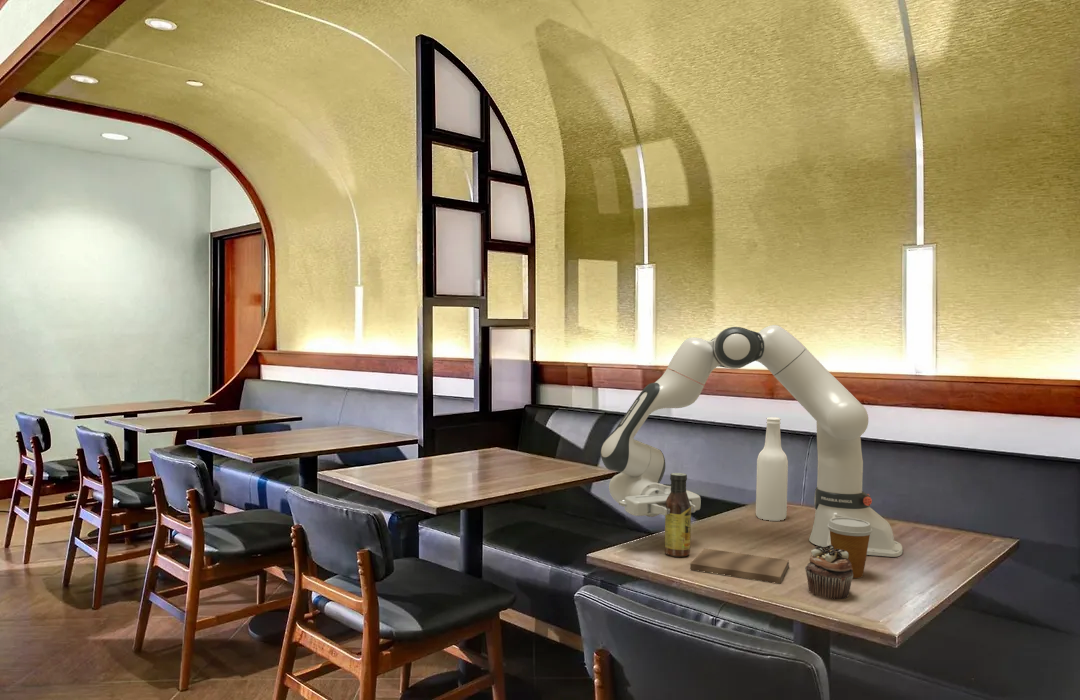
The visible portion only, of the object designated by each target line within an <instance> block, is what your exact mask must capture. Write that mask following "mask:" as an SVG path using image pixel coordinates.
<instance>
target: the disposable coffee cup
mask: <svg viewBox="0 0 1080 700" xmlns="http://www.w3.org/2000/svg"><path fill="white" fill-rule="evenodd" d="M828 528H829V530H830V539H831V545H832V546H834V550H835V549H841V550H843V549H844V551H847V552H848V554H849V555H848V559H849V561H850V562H851V565H852V570H853V578H852V579H859V578H863V576H864V571H865V567H866V560H867V556H868V555H867V548H868V542H869V536H870V534H871V532H872V529H871V526H870V523H869V522H866V521H864V520H860V519H854V518H842V517H840V518H832V519H830V522H829V524H828Z"/></svg>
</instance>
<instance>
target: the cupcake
mask: <svg viewBox="0 0 1080 700" xmlns="http://www.w3.org/2000/svg"><path fill="white" fill-rule="evenodd" d="M810 551H811V556H809V563H807V564H806V566H805V568H804V569H805V574H806V579H807V586H808V592H809V593H810V594H812V595H813V594H814V596H816V595H817V596H816V597H819V598H823V599H826V600H827V599H828V600H842V599H847V598H848V597H849V594H850V590H851V585H852V582H853V579H854V578H853V570H852V565H851V562H850V561H849V559H848V555H849V554H848V552H847V551H844V549H843V550H841V549H835V550H834V546H832V545H829V546H827V547H822V546H818V545H817V546H815V547H814V548H813V549H812V550H810Z"/></svg>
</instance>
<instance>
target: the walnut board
mask: <svg viewBox="0 0 1080 700" xmlns="http://www.w3.org/2000/svg"><path fill="white" fill-rule="evenodd" d="M789 566H790V560H789V559H783V558H776V557H769V556H762V555H756V554H755V555H754V554H746V553H741V552H734V551H726V550H717V549H711V548H703V550H701V552H700V553H699V554H698V555H697V556H696V557H695V558H694V559H693V560H692V561H691V562H690V568H689V569H691V570H690V571H693V570H699V571H698V572H700V571H705V572H704V573H706V572H713V573H718V574H717V575H719V574H725V575H724V576H726V575H731V576H730V577H732V576H736V577H735V578H739V577H742V578H741V579H745V578H749V579H748V580H752V579H755V580H754V581H758V580H762V581H761V582H765V581H768V582H767V583H772V582H775V583H774V584H778V583H780V584H781V583H782V581H783V579H784V577H785V575H786V573H787V571H788V569H789ZM713 573H712V574H713Z"/></svg>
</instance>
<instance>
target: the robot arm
mask: <svg viewBox="0 0 1080 700" xmlns="http://www.w3.org/2000/svg"><path fill="white" fill-rule="evenodd" d="M753 362H758V363H760V364H761V365H763V366H764V367H765V368H766V369H767V370H768V371H769V372H770V374H772V376H773V377H774V378H775V379H776V380H777V381H778V382H779V383H780V384H781V385H782V386H783V387H784V388H785V390H786V391H788V393H789V394H790V395H791V396H792V397H793V398H794V399H795V400H796V402H798V403H799V404H800V405H801V406H802V407H803V408H804V410H805V411H807V413H808V414H809V415H810V416H811V417H812V418H813V419H814V420H815V421H816V445H817V449H816V450H817V475H816V476H817V479H816V481H817V484H816V485H817V486H816V488H815V491H814V502H813V503H814V509H815V513H814V521H813V526H812V529H811V532H810V536H809V538H808V540H809V542H811V543H812V544H813V545H816V546H817V547H818V546H822V547H827V546H829V545H831V539H830V530H829V528H828V524H829V522H830V519H832V518H840V517H842V518H854V519H860V520H864V521H866V522H869V523H870V526H871V529H872V532H871V534H870V536H869V542H868V548H867V555H866V556H868V555H869V556H877V557H878V556H879V557H888V558H889V557H891V558H897V557H899V556H901V555H903V544H901V543H900V542H898V541H897V540H895V538H894V532H893V528H892V526H891V525H890V523H889V522H888V521H887V520H886V519H885V518H883V517H882V516H881V515H880V514H879V513H878V512H876V511H875V510H874V509H873V508H872V507H870V506H871V505H872V501H873V500H872V498H871V495H870V493H866V492H864V490H863V475H864V474H863V473H864V460H863V453H862V452H863V451H862V439H861V436H862V435H864V433H866V430H867V429H868V426H869V414H868V412H867V408H866V407H865V406H864V405H863V404H862V403H861V402H860V401H859V400H858V399H857V398H856V397H855V396H854V395H853V394H852V393H851V392H850V391H849V390H848V389H847V388H846V387H845V386H844V385H843V384H842V383H841V382H840V381H839V380H838V379H837V378H836V377H835V376H834V375H833V374H831V372H829V370H828V369H826V367H825V366H824V365H823V364H822V363H821V362H820V361H819V359H817V358H816V357H815V356H814V355H813V354H812V352H811V351H809V349H807V348H806V346H804V345H803V343H802V342H800V340H799V339H797V338H796V337H795V336H794V335H793V334H791V333H790V332H789V331H787V330H786V329H785V328H783V327H782V326H780V325H778V324H772V325H771V324H770V325H769V326H765V327H764V328H762V329H761V330H760V331H758V332H756V331H754V330H751V329H749V328H744V327H740V326H731V327H727V328H725V329H723V330H722V331H720V332H719V333H717V335H716V336H715V337H713V338H712V339H711V340H706V339H703V338H702V337H701V338H700V337H696V336H695V337H689V338H686V339H685V340H684V341H682V344H680V346H679V347H678V348H677V350H676V352H675V354H674V355H673V356H672V357H671V360H670V362H669V364H668V365H667V368H666V369H665V371H664V373H663V374H662V375H661V376H660V378H658V379H657V380H656V381H655V382H651V383H648V384H647V385H646V386H644V388H643V389H642V390H641V392H640V393H639V394H638V396H637V397H636V398H635V400H634V401H633V402H632V404H631V405H630V406H629V407H630V408H629V409H628V410H627V412H625V414H624V416H623V417H622V418H621V420H620V421H619V422H618V424H617V426H616V428H615V429H614V430H613V431H612V432H611V433H610V434H608V435H609V436H607V437H606V438H605V440H604V441H603V443H602V445H601V447H600V452H599V453H600V457H601V461H602V463H603V465H604V467H605V468H606V469H607V470H611V471H614V472H617V473H618V474H615V475H614V476H613V477H611V479H610V481H609V484H608V490H609V494H610V496H611V498H612V499H613V500H614V501H615V502H616V503H618V505H619V506H620V507H624V511H625V512H627V513H629V514H630V515H632V516H635V517H643V516H644V517H645V516H646V517H649V518H654V517H657V516H659V515H661V516H662V515H663V516H665V515H670V508H669V507H666V500H667V497H668V496H669V494H670V493H671V483H669V484H667V483H666V484H665V483H661V482H662V480H663V477H664V475H665V472H666V457H665V455H664V453H663V452H662V450H661V449H659V448H656V447H654V446H652V445H649V444H647V443H643V442H641V441H639V440H636V439H635V436H636V435H637V433H638V432H639V431H640V429H641V428H642V426H643V425H644V424H645V422H646V420H647V419H648V417H649V416H650V415H651V414H652V413H654V412H655V411H658V410H662V409H681V408H686V407H688V406H691V405H693V404H694V403H695V402H696V401H697V400H698V399H699V397H700V396H701V393H702V391H703V389H704V387H705V384H706V383H707V380H708V379H709V377H710V376H711V373H712V372H713V371H714V370H715V369H716V368H717V367H720V368H725V369H731V370H732V369H733V370H736V369H737V370H738V369H741V368H743V367H746V366H748V365H749V364H751V363H753ZM686 492H687V496H688V499H689V502H690V505H691V514H692V513H695V512H696V511H700V509H701V505H702V504H701V500H702V499H701V496H700V495H699V494H697V493H695V492H692V491H690V490H687V489H686Z"/></svg>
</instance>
